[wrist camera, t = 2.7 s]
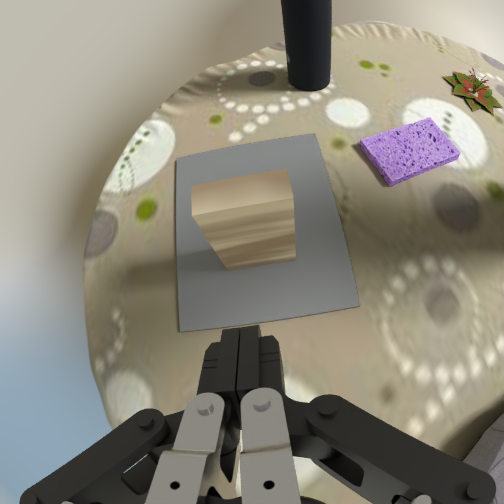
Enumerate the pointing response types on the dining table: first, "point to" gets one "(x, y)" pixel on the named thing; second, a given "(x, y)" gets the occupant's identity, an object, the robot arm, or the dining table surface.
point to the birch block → (247, 218)
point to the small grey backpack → (491, 456)
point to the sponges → (409, 150)
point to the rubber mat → (273, 275)
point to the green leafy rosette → (484, 93)
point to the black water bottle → (308, 42)
